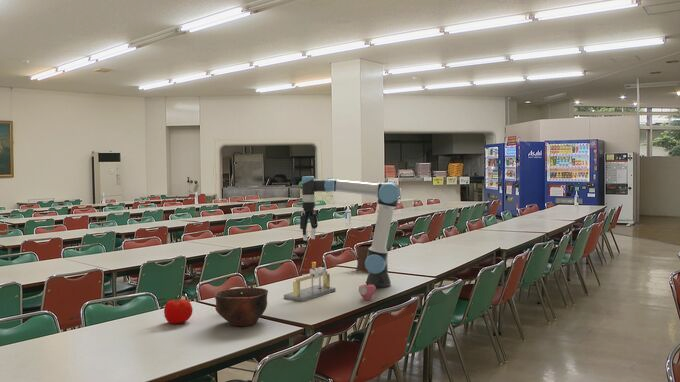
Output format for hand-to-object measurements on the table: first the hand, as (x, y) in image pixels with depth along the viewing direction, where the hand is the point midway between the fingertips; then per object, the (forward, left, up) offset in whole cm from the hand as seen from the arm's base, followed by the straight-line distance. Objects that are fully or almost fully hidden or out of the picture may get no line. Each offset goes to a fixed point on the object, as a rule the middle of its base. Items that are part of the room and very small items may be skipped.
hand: (309, 239), depth 331 cm
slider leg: (-11, +10, -28) cm, 31 cm away
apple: (-45, +5, -30) cm, 54 cm away
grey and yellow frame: (-10, +12, -30) cm, 34 cm away
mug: (+1, +56, -30) cm, 64 cm away
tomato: (+7, +91, -30) cm, 96 cm away
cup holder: (+7, -70, -30) cm, 77 cm away
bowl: (-20, +75, -30) cm, 83 cm away
